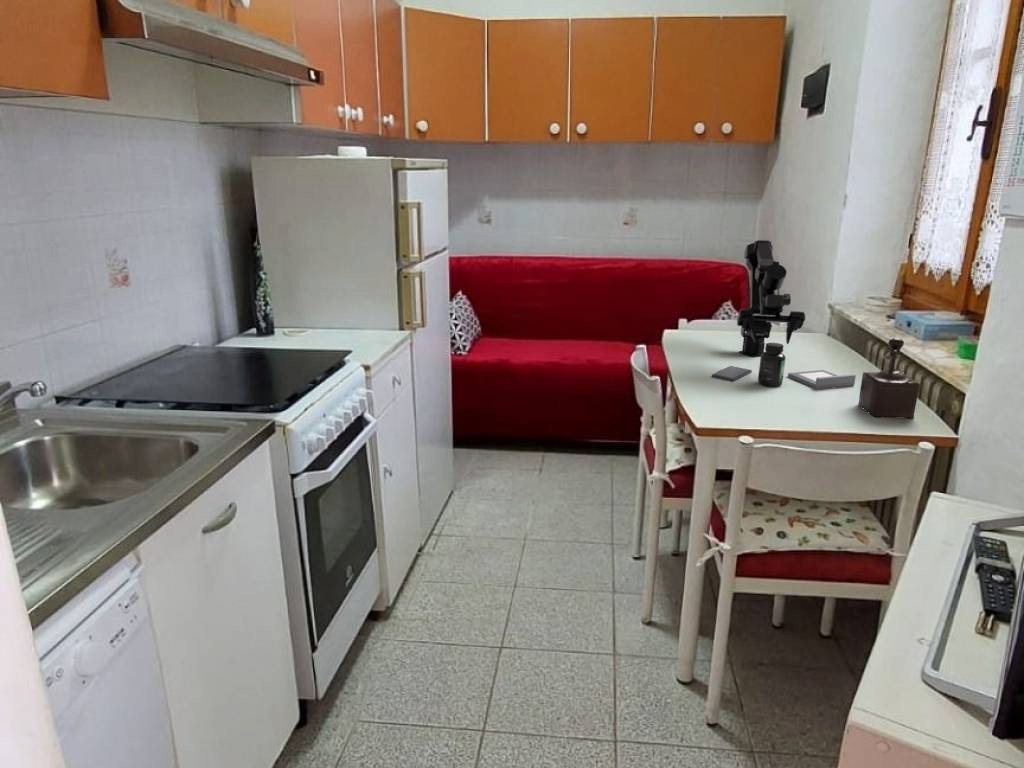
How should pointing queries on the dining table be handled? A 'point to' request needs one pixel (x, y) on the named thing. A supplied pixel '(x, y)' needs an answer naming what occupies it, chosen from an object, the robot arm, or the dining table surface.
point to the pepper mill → (889, 389)
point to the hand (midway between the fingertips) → (771, 342)
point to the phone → (732, 373)
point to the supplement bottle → (772, 366)
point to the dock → (822, 379)
